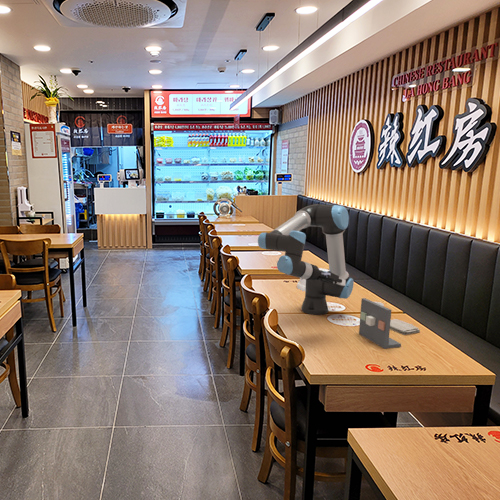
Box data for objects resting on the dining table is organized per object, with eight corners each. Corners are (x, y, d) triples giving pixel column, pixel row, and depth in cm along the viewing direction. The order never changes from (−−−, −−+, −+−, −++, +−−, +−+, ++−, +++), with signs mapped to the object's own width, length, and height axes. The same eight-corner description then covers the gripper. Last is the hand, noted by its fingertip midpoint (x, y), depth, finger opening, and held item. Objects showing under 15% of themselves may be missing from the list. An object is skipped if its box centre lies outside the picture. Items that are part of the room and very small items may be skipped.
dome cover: (292, 283, 320) (293, 264, 318) (332, 283, 324) (333, 265, 322) (302, 294, 289) (303, 273, 287) (346, 294, 292) (348, 274, 290)
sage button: (360, 318, 213) (360, 311, 213) (366, 318, 214) (367, 311, 214) (364, 321, 210) (365, 313, 209) (370, 320, 211) (371, 313, 211)
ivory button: (365, 323, 206) (366, 316, 206) (371, 322, 207) (372, 315, 207) (370, 325, 203) (370, 318, 202) (376, 325, 204) (377, 317, 203)
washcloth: (404, 336, 216) (405, 330, 216) (378, 325, 231) (378, 319, 231) (421, 333, 222) (422, 327, 221) (394, 322, 237) (394, 317, 237)
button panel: (358, 333, 216) (361, 298, 213) (374, 332, 219) (377, 297, 216) (384, 348, 197) (387, 310, 195) (400, 346, 200) (404, 308, 198)
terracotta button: (378, 328, 200) (378, 320, 200) (384, 327, 202) (385, 319, 201) (382, 330, 197) (383, 322, 196) (389, 329, 198) (390, 322, 198)
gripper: (297, 281, 202) (333, 291, 214) (316, 278, 191) (354, 289, 203) (298, 265, 204) (335, 276, 216) (318, 261, 193) (355, 273, 205)
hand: (344, 283), depth 210 cm, fingers closed
